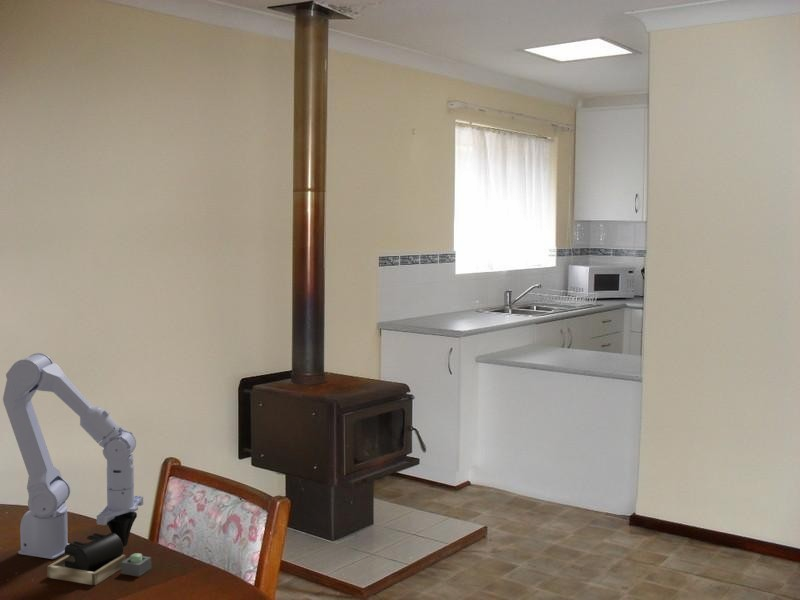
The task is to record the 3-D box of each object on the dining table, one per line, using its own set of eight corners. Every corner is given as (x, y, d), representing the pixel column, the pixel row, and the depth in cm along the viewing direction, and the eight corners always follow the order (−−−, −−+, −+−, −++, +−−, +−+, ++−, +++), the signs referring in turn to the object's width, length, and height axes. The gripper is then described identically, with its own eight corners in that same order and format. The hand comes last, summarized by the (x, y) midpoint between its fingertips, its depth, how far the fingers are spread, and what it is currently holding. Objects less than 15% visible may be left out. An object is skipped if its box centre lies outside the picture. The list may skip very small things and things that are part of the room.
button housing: (121, 573, 180) (121, 562, 180) (133, 565, 184) (133, 554, 184) (139, 576, 179) (139, 565, 179) (151, 568, 183) (151, 557, 183)
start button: (128, 571, 181) (127, 556, 181) (134, 567, 183) (134, 552, 183) (137, 572, 180) (137, 558, 180) (144, 568, 183) (144, 554, 182)
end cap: (87, 582, 176) (87, 550, 175) (63, 575, 179) (62, 543, 178) (124, 565, 185) (123, 534, 184) (100, 558, 188) (99, 528, 187)
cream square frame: (47, 577, 178) (47, 566, 177) (79, 558, 188) (79, 548, 187) (95, 585, 174) (95, 574, 174) (125, 565, 184) (125, 555, 184)
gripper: (116, 498, 183) (116, 560, 184) (154, 479, 197) (155, 536, 198) (87, 494, 185) (88, 555, 186) (128, 475, 199) (128, 532, 200)
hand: (121, 545), depth 192 cm, fingers closed
